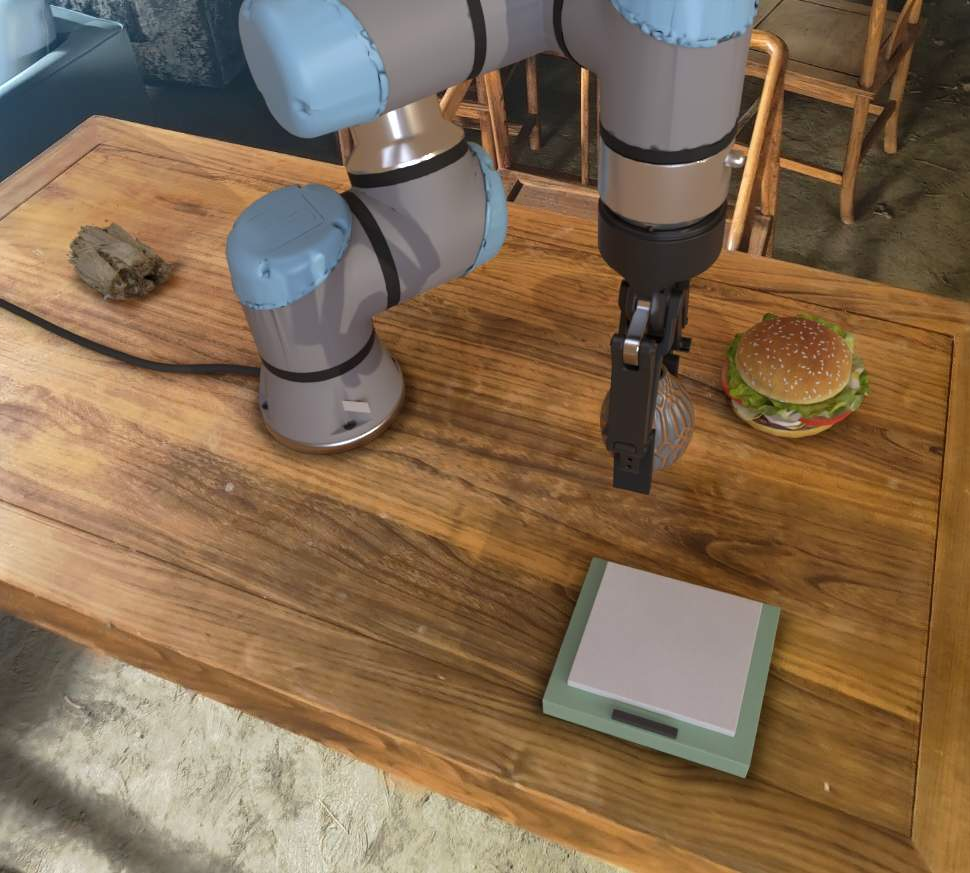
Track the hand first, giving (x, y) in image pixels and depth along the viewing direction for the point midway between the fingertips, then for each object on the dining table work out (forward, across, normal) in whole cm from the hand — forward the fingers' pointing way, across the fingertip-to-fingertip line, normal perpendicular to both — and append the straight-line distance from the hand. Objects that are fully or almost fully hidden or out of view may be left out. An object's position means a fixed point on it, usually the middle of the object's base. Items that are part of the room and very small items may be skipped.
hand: (644, 449), depth 71 cm
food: (+16, +24, -10) cm, 30 cm away
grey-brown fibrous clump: (+15, +22, +70) cm, 75 cm away
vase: (0, 0, 0) cm, 0 cm away
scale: (+16, -9, -4) cm, 19 cm away
